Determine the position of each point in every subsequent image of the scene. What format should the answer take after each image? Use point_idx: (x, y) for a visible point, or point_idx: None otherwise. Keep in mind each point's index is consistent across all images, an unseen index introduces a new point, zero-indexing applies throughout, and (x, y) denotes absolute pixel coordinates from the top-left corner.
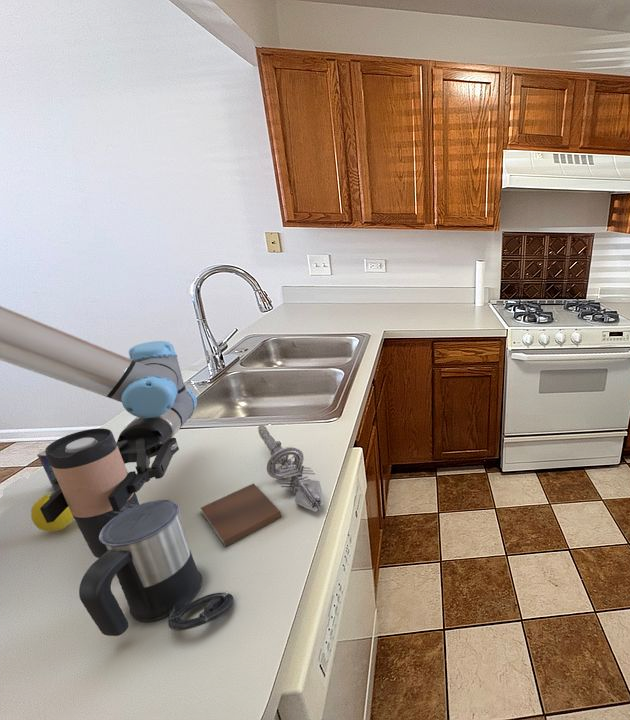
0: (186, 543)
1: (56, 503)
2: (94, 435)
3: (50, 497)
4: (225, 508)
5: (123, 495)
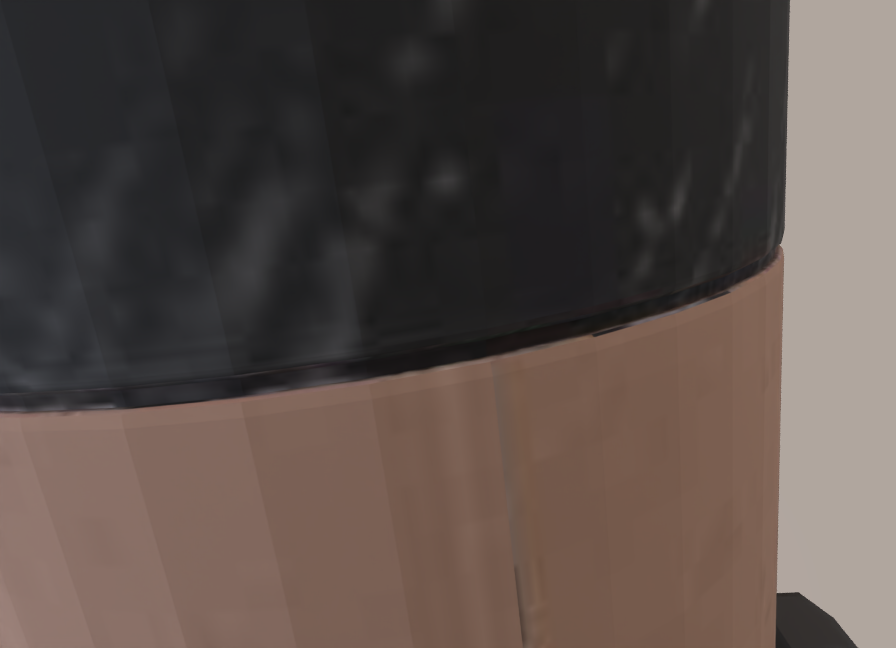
0: None
1: None
2: (137, 28)
3: (791, 596)
4: None
5: None
